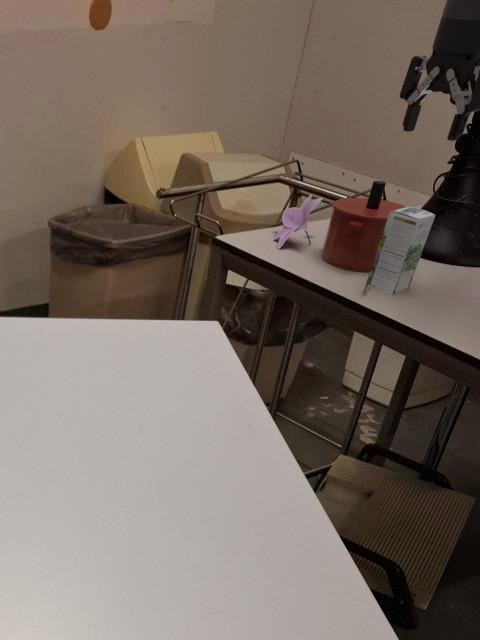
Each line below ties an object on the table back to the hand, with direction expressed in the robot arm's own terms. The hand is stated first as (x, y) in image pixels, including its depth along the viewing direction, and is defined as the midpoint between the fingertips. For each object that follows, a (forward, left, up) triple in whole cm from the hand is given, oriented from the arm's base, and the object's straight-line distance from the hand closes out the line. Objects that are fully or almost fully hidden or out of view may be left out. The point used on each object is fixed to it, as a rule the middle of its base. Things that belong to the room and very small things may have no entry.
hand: (429, 135), depth 139 cm
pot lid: (+10, -16, -16) cm, 24 cm away
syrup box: (-1, +2, -26) cm, 26 cm away
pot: (+10, -16, -26) cm, 32 cm away
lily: (+24, -18, -26) cm, 40 cm away
